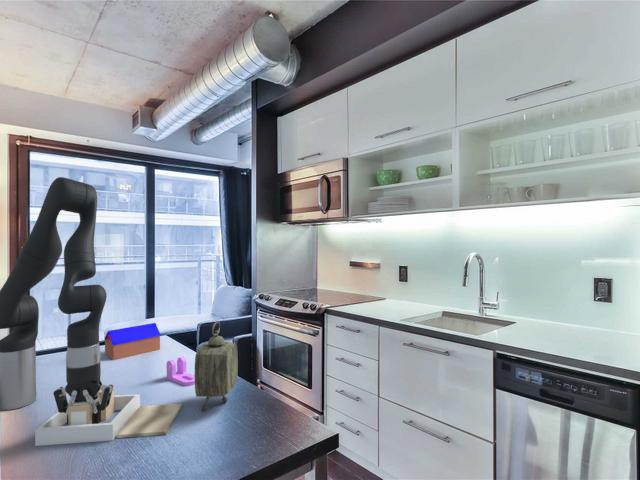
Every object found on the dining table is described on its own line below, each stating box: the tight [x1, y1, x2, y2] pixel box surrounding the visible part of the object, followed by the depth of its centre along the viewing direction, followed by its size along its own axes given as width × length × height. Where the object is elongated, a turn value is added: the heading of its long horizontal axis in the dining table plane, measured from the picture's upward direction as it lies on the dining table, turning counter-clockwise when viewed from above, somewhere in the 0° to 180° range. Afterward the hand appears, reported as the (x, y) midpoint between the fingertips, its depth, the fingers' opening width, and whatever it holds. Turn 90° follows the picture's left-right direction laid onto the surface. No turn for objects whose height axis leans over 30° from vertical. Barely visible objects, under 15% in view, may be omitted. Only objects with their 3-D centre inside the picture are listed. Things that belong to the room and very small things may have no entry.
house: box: [103, 322, 162, 361], centre depth 163 cm, size 12×20×12 cm, turn 137°
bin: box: [34, 393, 141, 447], centre depth 99 cm, size 18×18×4 cm
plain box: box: [98, 384, 115, 422], centre depth 104 cm, size 5×5×8 cm
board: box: [116, 403, 183, 439], centre depth 101 cm, size 12×16×1 cm
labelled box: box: [68, 399, 94, 426], centre depth 95 cm, size 5×5×8 cm
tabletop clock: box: [194, 320, 239, 411], centre depth 112 cm, size 14×9×25 cm, turn 178°
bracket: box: [166, 356, 195, 387], centre depth 130 cm, size 13×6×7 cm, turn 54°
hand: (84, 426), depth 95 cm, fingers closed on labelled box, 5 cm apart
